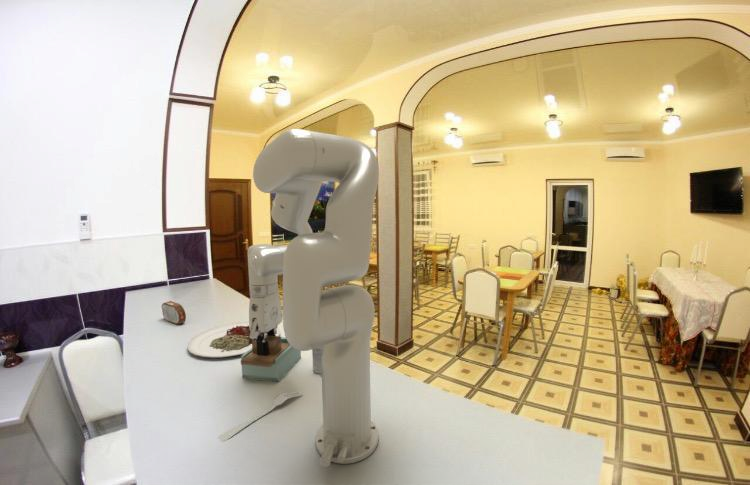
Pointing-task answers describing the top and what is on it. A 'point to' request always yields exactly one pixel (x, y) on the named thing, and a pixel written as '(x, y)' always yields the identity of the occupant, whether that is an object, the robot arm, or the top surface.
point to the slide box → (277, 369)
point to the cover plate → (273, 352)
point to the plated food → (223, 341)
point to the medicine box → (317, 359)
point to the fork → (236, 429)
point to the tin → (173, 312)
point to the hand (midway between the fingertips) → (267, 350)
